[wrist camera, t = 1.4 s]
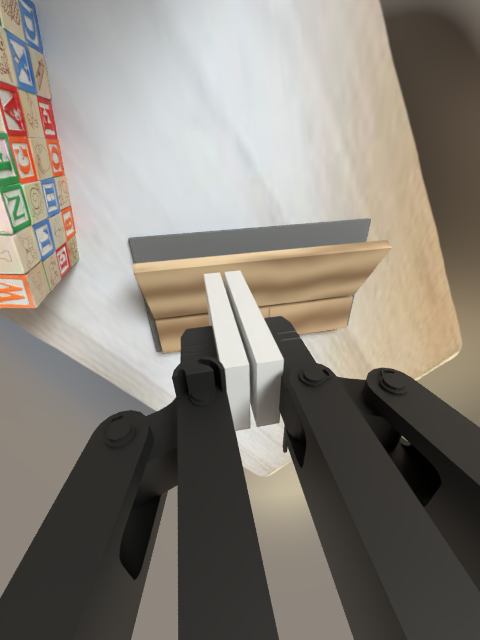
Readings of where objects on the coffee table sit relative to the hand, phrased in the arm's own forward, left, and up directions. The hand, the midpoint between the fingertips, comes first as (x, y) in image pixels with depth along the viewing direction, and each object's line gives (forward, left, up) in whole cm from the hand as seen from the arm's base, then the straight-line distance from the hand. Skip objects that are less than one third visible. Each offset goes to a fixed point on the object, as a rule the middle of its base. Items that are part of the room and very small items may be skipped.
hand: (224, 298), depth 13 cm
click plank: (+8, +7, -19) cm, 22 cm away
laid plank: (+16, +7, -22) cm, 28 cm away
